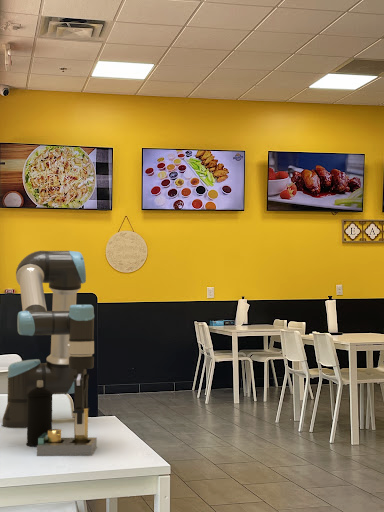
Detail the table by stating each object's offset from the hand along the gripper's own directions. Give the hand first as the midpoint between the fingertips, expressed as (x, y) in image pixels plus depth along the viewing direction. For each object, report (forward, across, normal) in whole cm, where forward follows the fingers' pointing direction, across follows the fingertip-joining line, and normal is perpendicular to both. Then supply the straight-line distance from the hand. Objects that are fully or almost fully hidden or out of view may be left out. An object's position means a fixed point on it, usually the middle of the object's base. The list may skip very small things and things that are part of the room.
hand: (81, 433), depth 222 cm
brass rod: (+5, 0, 0) cm, 5 cm away
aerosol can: (+6, -11, -15) cm, 19 cm away
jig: (+5, 0, -4) cm, 7 cm away
